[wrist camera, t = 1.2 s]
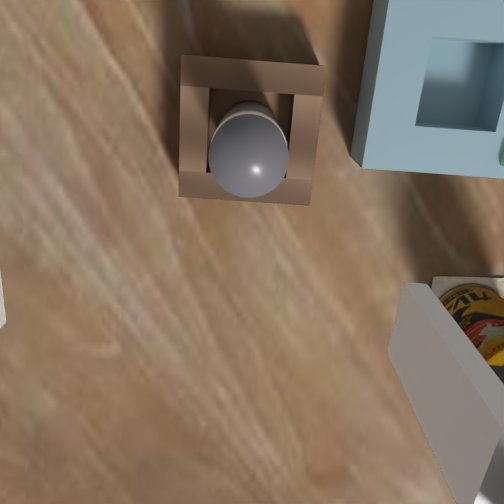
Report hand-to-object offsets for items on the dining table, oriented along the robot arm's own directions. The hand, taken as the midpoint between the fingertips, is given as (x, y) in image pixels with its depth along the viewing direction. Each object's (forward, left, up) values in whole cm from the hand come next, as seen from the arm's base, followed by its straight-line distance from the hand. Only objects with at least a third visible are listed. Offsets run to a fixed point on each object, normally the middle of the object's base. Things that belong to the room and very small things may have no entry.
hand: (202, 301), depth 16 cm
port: (-7, +14, -21) cm, 26 cm away
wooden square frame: (-3, +1, -21) cm, 21 cm away
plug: (-3, +1, -20) cm, 20 cm away
